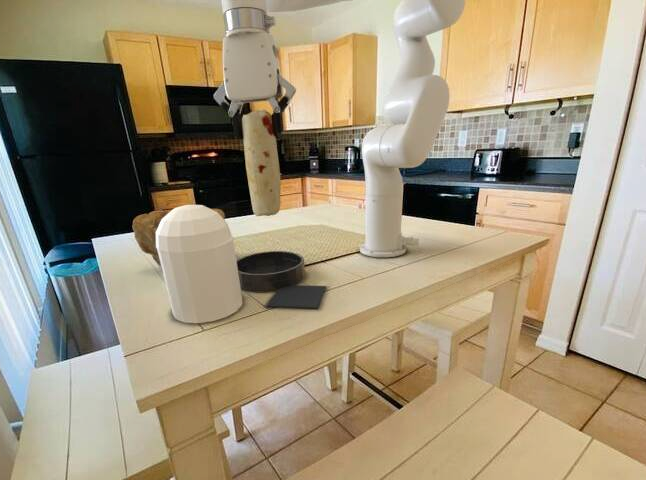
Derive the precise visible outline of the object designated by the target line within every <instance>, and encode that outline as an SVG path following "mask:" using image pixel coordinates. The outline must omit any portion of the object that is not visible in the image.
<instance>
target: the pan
mask: <svg viewBox="0 0 646 480" xmlns="http://www.w3.org/2000/svg"><path fill="white" fill-rule="evenodd" d="M236 261H237V268H238V274H239V281H240V287H241V291H245V292H253V293H270V292H271V293H272V292H276V291H277V290H278V289H280V288H284V287H288V286H291V285H298V284H300V283H301V282H303V281H304V280H305V277H306V268H305V267H306V266H305V258H304V256H303V255H301V254H299V253H298V252H297V253H296V252H294V251H293V252H292V251H286V250H270V251H261V252H255V253H251V254H248V255H245V256H242V257H240V258H238V259H236Z"/></svg>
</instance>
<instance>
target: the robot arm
mask: <svg viewBox="0 0 646 480" xmlns="http://www.w3.org/2000/svg"><path fill="white" fill-rule="evenodd" d="M220 1H221V9H222V17H223V23H224V24H223V25H224V31H225V37H223V38H222V72H223V82H222V83H221V84H220V86H219V87H218V88H217V90H216V91H215V92H214V94H213V100H215V101H216V103H217V104H218V105H219V106H221V109H222V110H223V111H224V112H225V113H226V114H228V116H229V117H230V118H231V123H232V129H233V131H232V132H233V135H234V136H235V139H236V140H240V141H241V140H243V133H242V118H243V116H241V113H242V109H243V107H244V104H248V103H250V104H251V103H260V102H268V103H269V105H270V106H271V108H272V112H273V113H272V114H271V115H272V124H273V133H274V136H275V137H276V138H281V137H283V135H282V134H283V132H284V131H285V130H284V120H283V118H284V117H283V114H284V113H285V110H286V109H287V108H288V106H289V105H290V103H291V100H292V99H293V98H294V96H295V94H296V93H297V88H296V87H295V85H293V84H292V83H290V82H289V81H288V80H287V79H286V78H285V77H284V76H282V72H281V64H280V59H279V58H280V57H279V54H278V49H277V45H276V40H275V37H274V35H272V34H271V31H270V30H271V28H272V27H275V26H276V22H277V21H276V18H275V16H274V15H273V16H270V15H268V13H283V12H284V13H285V12H286V13H287V12H297V11H303V10H309V9H313V8H314V9H315V8H319V7H323V6H329V5H330V6H331V5H335V4H338V3H340V2H350V1H351V2H352V0H220ZM465 6H466V0H402V1H401V2H399V4H398V5H397V6H396V8H395V11H394V13H393V16H392V17H393V18H392V28H393V33H394V36H395V39H396V41H397V42H396V43H397V46H398V49H399V61H398V65H397V68H396V71H395V73H394V76H393V78H392V81H391V84H390V86H389V89H388V91H387V93H386V96H385V99H384V102H383V107H382V115H383V118H384V119H385V121H386V122H387V123H388V124H386V125H380V126H377V127H374V128H372V129H370V130H368V132H367V133H366V134H365V135H364V137H363V140H362V143H361V159H362V164H363V169H364V170H363V171H364V180H365V181H364V183H365V194H364V197H365V198H364V199H365V200H364V201H365V202H364V204H365V207H364V208H365V209H364V210H365V211H364V215H365V216H364V218H365V219H364V229H365V231H364V243H362V244H361V245H360V246H359V252H360V254H362V255H364V256H367V257H370V258H371V257H373V258H393V257H395V258H396V257H400V256H402V255H404V254H405V253H406V252H407V246H412V247H414V246H415V247H417V246H419V243H420V242H419V241H420V240H419V238H418V237H416V238H414V237H413V236H408V237H407V236H406V237H405V236H404V235H403V233H402V219H403V218H402V217H403V196H404V195H403V194H404V182H403V177H402V174H401V171H400V169H413V168H417V167H419V166H421V165H422V164H423V163H424V162H425V161H426V160H427V158H428V157H429V155H430V154H431V151H432V149H433V147H434V144H435V142H436V141H437V137H438V135H439V132H440V130H441V127H442V125H443V122H444V120H445V118H446V115H447V112H448V111H449V110H448V109H449V106H450V98H451V97H450V88H449V84H448V83H447V81H446V79H445V78H443V77H442V76H440V75H438V74H433V73H434V70H435V66H436V59H435V55H434V53H433V50H432V49H431V46H430V44H429V41H428V38H427V36H429V35H431V34H434V33H437V32H440V31H443V30H446V29H448V28H450V27H452V26H454V25H455V24H456V23H457V22H458V21H459V20H460V19H461V18H462V15H463V13H464V11H465ZM267 12H268V13H267ZM284 90H285V93H284ZM283 94H284V95H283ZM225 96H226V97H225ZM226 98H227V99H228V100H229V101H231V102H228V101H227V100H226ZM279 99H280V100H279Z"/></svg>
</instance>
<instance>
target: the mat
mask: <svg viewBox="0 0 646 480" xmlns="http://www.w3.org/2000/svg"><path fill="white" fill-rule="evenodd" d="M326 288H327V286H326V285H298V284H297V285H291V286H288V287H284V288H280V289H278V290H277V291H275V292H274V294H273V295H272V297H271V298H270V300H269V301H268V303H267V304H266V308H272V309H273V308H275V309H276V308H277V309H299V310H300V309H301V310H302V309H305V310H318V309H319V306H320V304H321V302H322V299H323V296H324V293H325V290H326Z"/></svg>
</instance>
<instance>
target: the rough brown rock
mask: <svg viewBox="0 0 646 480" xmlns="http://www.w3.org/2000/svg"><path fill="white" fill-rule="evenodd" d="M211 209H212V210H214V211H216V212H218V214H219V215H220V216H221V217H222V218H223V219H224V220H225V219H226V215H225V212H224V211H223V210H222V209H219V208H211ZM168 213H169V212H168V211H166V210H161V209H158V210H153V211H151V212H149V213H144V214H139V215H138V216H136V217H134V219H133V221H132V225H131V226H132V230H133V232H134V234H133V235H134V239H135V241H136V243H137V245H138V247H139V249H140V250H141V251H142V252H143V253H145V254H148V255H151V257H152V259H153V260H154V261H155V263H156V264H157V265H158V266H159V267H160V268H162V267H161V263H160V259H159V255H158V250H157V248H156V231H157V229H158V226H159V224H160V222H161V220H162V219H163V218H164V217H165V216H166V215H167V214H168ZM225 221H226V220H225Z"/></svg>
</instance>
